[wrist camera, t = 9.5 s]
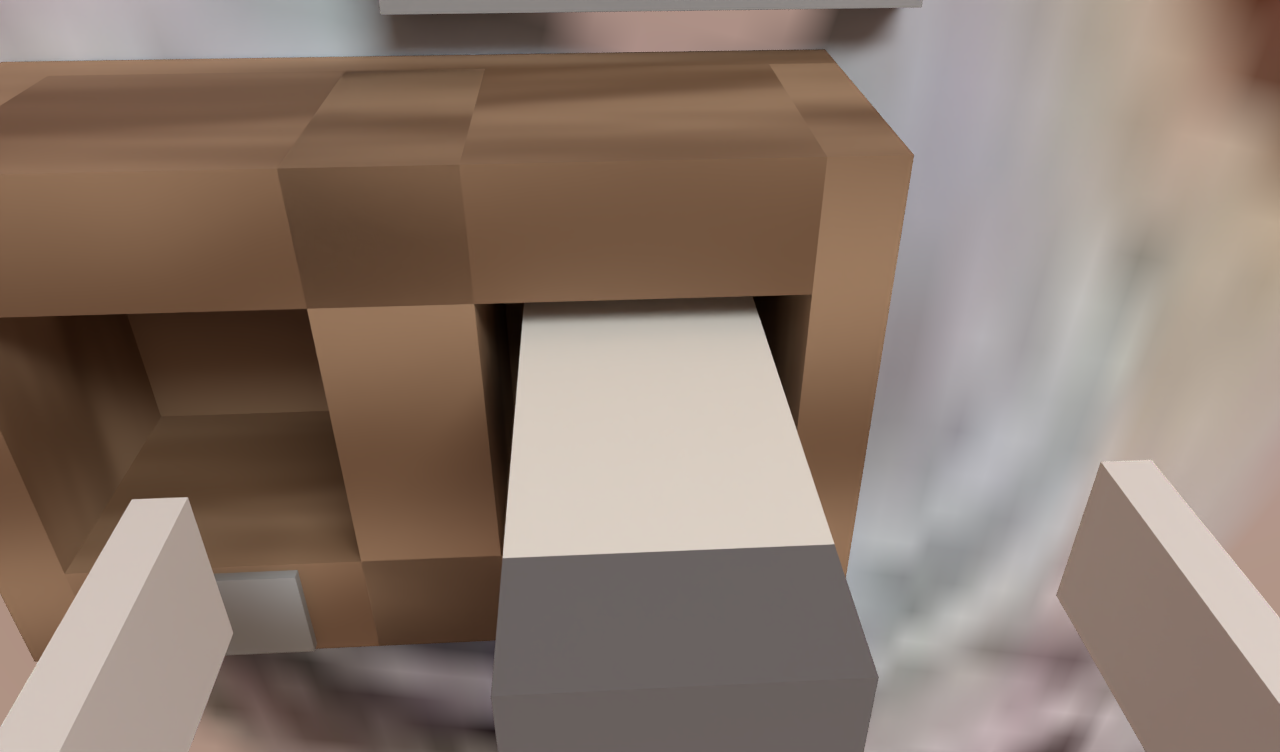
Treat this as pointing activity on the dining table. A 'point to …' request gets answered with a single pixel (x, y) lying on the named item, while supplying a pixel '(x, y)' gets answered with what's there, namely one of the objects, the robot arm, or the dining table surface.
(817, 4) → the panel
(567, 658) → the plug
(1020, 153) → the dining table surface
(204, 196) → the socket block
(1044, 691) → the dining table surface
